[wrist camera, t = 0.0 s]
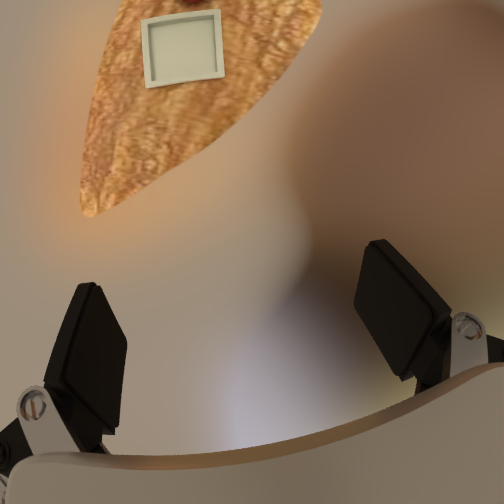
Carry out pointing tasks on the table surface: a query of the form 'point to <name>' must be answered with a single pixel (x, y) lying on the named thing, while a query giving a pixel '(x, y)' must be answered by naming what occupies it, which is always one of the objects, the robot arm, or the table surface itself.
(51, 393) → the robot arm
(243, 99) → the table surface
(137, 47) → the table surface
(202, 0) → the onion
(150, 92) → the table surface
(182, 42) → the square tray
